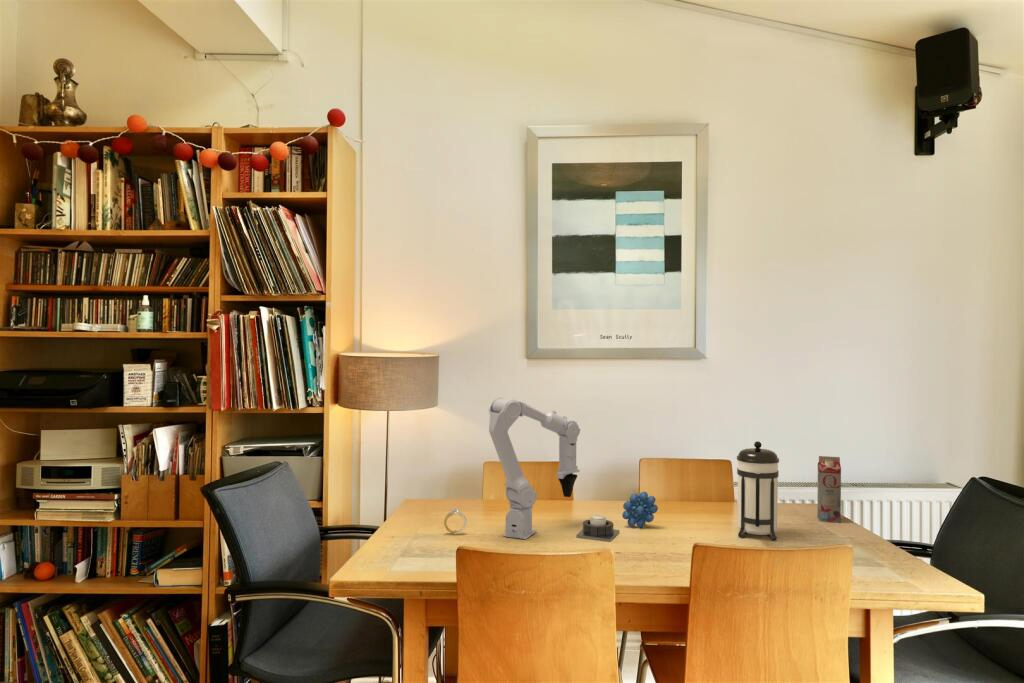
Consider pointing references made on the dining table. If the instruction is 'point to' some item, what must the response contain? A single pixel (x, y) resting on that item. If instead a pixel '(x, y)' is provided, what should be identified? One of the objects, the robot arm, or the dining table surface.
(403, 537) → the dining table surface
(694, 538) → the dining table surface
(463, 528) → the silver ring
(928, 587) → the dining table surface
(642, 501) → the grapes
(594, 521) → the cap
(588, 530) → the flanged pipe fitting
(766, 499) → the coffee press
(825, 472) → the juice carton
